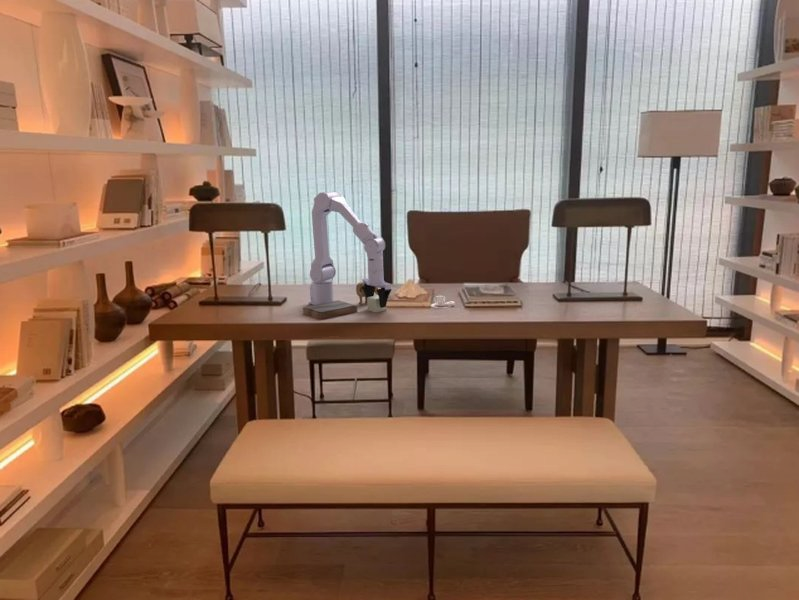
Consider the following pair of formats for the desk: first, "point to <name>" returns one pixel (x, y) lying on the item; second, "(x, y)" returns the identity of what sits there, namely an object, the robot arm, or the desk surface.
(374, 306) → the sage block
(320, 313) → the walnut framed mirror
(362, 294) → the lion figurine
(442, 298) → the teacup and saucer
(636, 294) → the desk surface
